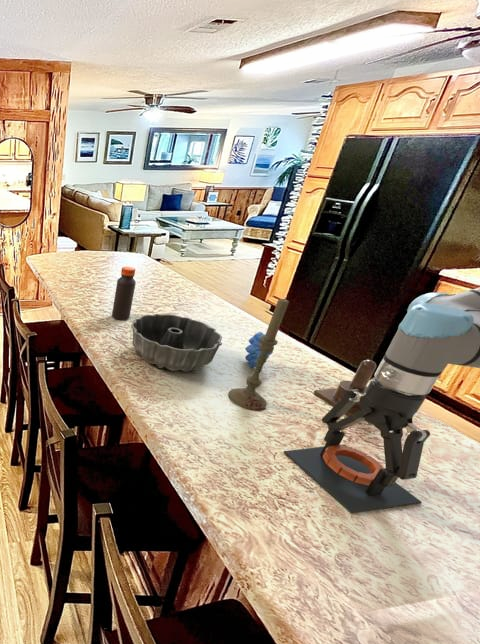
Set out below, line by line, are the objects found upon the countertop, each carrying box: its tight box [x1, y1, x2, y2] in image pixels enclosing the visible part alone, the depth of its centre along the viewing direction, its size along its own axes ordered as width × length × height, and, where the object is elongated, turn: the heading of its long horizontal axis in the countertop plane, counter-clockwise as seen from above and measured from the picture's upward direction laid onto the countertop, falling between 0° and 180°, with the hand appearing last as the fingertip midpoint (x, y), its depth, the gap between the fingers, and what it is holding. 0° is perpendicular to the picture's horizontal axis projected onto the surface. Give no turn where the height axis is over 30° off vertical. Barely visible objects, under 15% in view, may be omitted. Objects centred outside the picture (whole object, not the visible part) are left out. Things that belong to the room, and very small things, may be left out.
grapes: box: [244, 331, 274, 369], centre depth 118 cm, size 12×7×12 cm, turn 166°
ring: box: [323, 444, 384, 486], centre depth 80 cm, size 10×10×2 cm
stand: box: [313, 359, 377, 417], centre depth 102 cm, size 11×11×14 cm
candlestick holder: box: [227, 297, 290, 411], centre depth 98 cm, size 9×9×30 cm
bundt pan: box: [130, 313, 223, 373], centre depth 123 cm, size 26×26×10 cm
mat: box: [283, 444, 422, 514], centre depth 81 cm, size 16×16×1 cm
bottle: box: [111, 266, 136, 321], centre depth 149 cm, size 7×7×20 cm
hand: (348, 473), depth 81 cm, fingers closed on ring, 9 cm apart
